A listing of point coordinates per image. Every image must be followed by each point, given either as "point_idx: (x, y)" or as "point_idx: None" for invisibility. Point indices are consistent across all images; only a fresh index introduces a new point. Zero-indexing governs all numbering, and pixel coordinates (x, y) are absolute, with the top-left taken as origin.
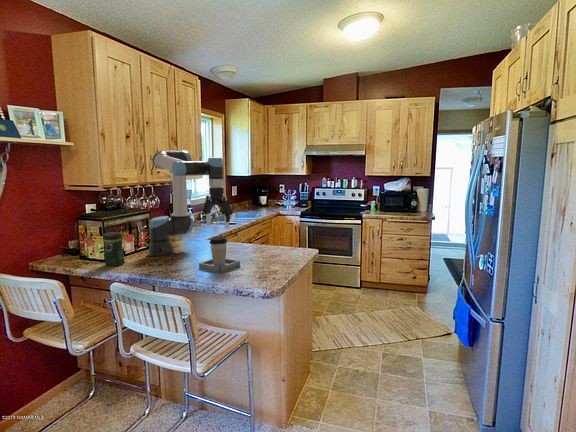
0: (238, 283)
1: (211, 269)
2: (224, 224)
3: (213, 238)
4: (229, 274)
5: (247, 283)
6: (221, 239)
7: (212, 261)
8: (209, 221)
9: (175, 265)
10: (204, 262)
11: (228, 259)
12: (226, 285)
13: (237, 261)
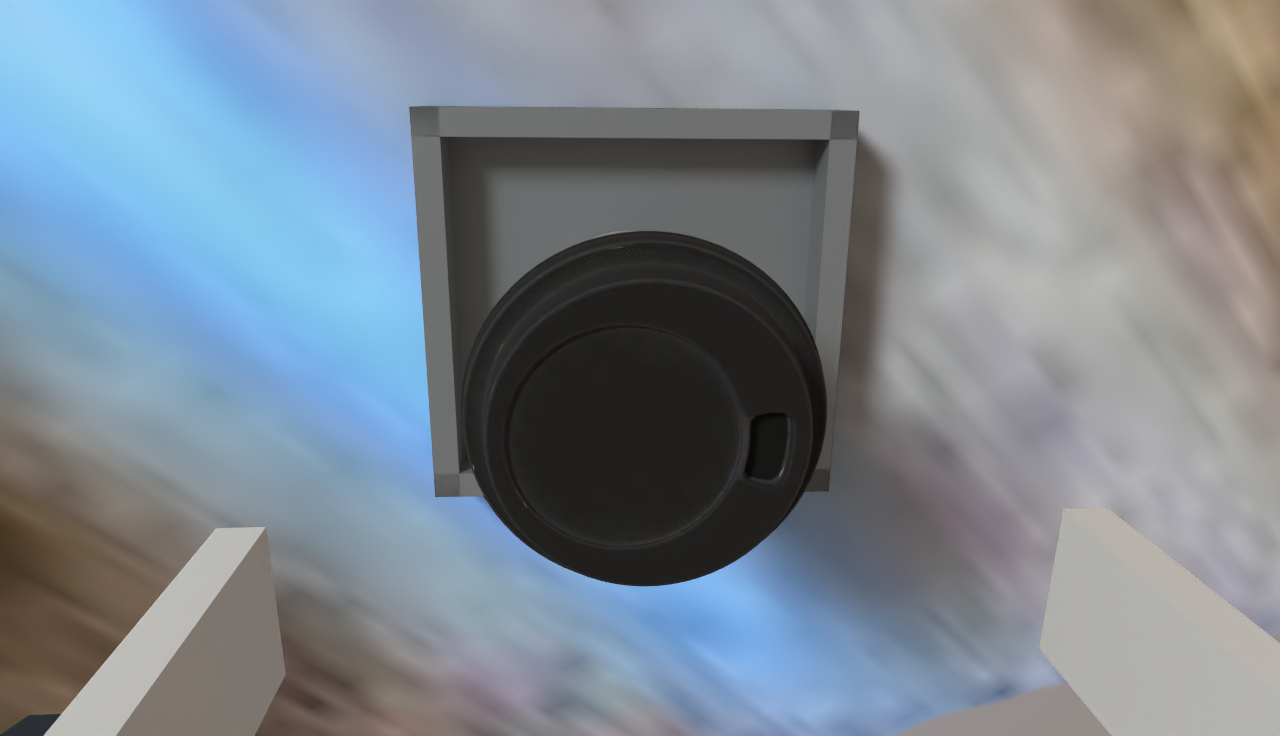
0: None
1: None
2: (1105, 727)
3: (524, 466)
4: (926, 428)
5: (1262, 529)
6: (749, 437)
7: (452, 273)
8: (220, 679)
9: (83, 537)
10: (456, 422)
11: (647, 137)
12: None
13: (842, 149)
